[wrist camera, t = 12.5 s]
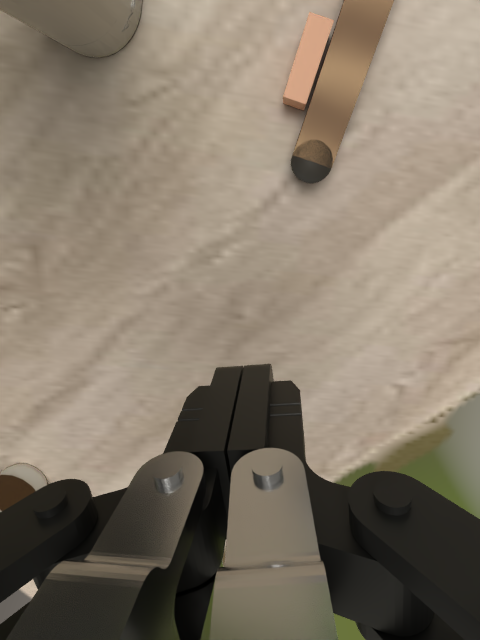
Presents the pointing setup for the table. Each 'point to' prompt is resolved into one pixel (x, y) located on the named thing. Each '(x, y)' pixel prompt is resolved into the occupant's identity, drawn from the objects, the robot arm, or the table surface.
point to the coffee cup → (19, 483)
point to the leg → (338, 86)
